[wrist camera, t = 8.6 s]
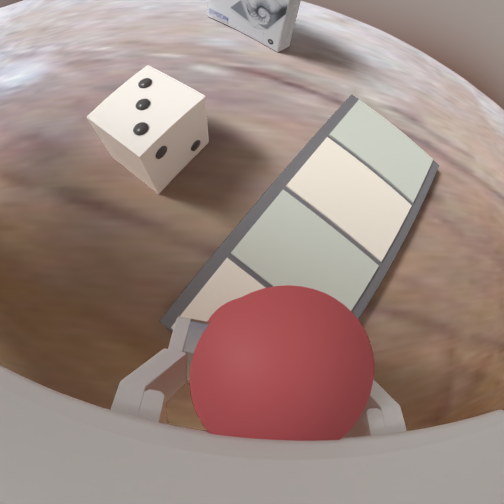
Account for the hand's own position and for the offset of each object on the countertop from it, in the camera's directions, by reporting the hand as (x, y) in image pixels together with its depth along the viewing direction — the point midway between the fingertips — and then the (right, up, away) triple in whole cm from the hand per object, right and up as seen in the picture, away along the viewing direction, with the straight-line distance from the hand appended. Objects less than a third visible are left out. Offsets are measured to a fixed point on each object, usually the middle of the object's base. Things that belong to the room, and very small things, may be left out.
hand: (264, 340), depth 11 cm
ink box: (-1, +29, +16) cm, 33 cm away
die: (-8, +12, +12) cm, 19 cm away
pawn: (-1, -2, +5) cm, 5 cm away
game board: (+5, +5, +11) cm, 14 cm away
